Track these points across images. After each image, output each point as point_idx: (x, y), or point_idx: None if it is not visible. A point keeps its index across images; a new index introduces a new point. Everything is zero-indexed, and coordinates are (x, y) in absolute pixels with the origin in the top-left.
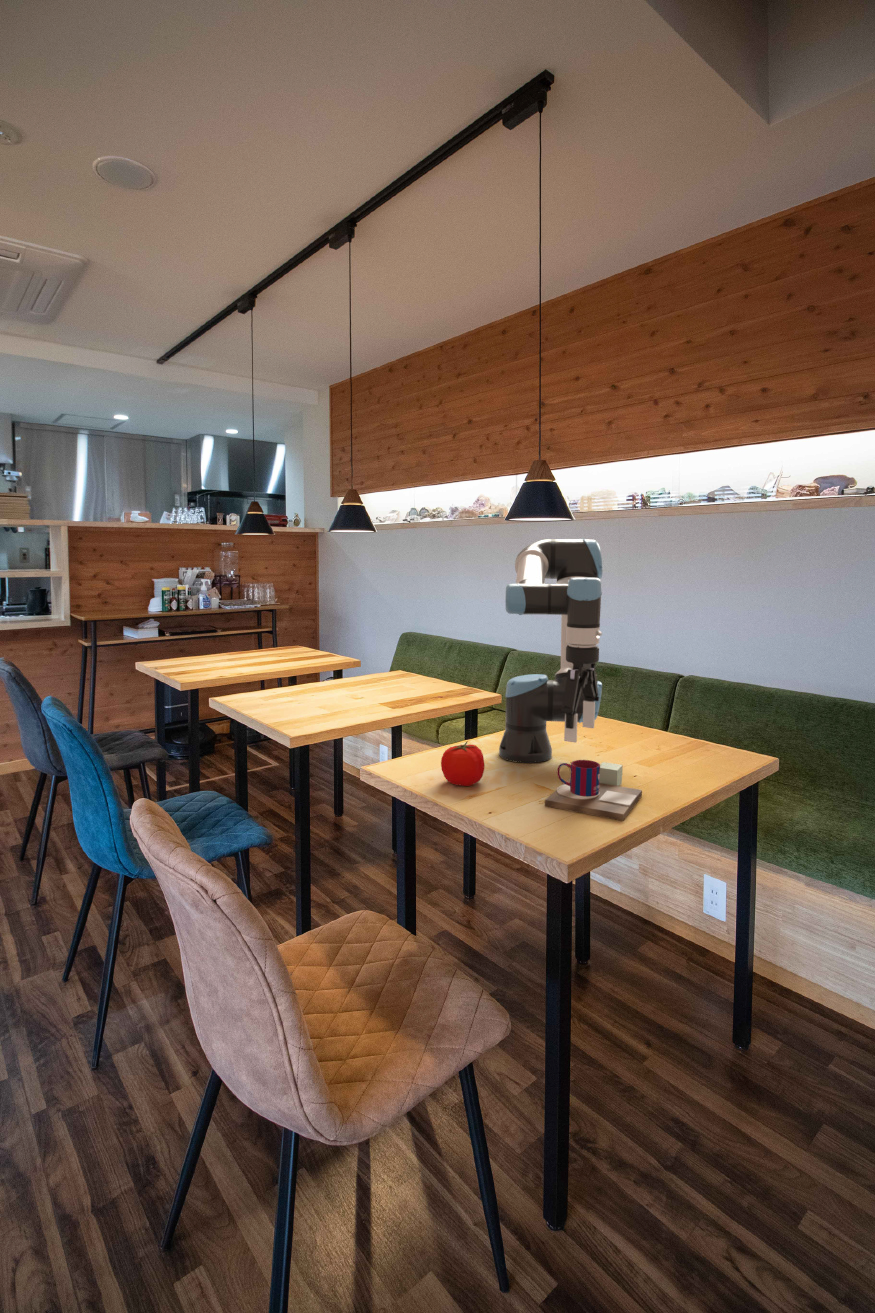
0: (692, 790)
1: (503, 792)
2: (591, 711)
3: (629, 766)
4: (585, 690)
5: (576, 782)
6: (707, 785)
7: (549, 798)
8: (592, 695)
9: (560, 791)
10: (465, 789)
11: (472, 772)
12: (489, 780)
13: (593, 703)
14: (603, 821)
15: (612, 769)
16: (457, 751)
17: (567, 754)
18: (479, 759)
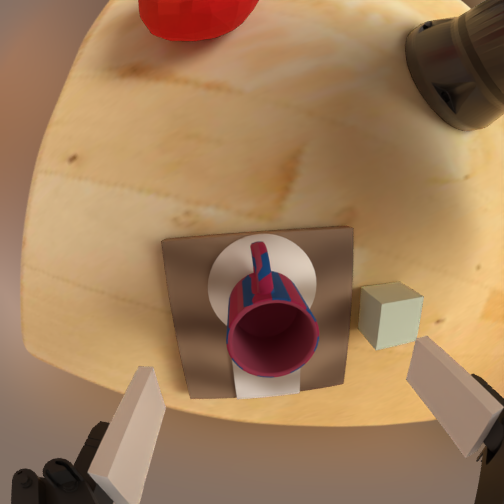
0: (394, 412)
1: (195, 109)
2: (447, 417)
3: (478, 289)
4: (493, 498)
5: (228, 310)
6: (419, 413)
7: (175, 247)
8: (481, 481)
9: (230, 254)
10: None
11: (153, 31)
12: (258, 46)
13: (463, 451)
14: (167, 366)
15: (378, 339)
16: None
17: (493, 157)
18: (185, 13)
